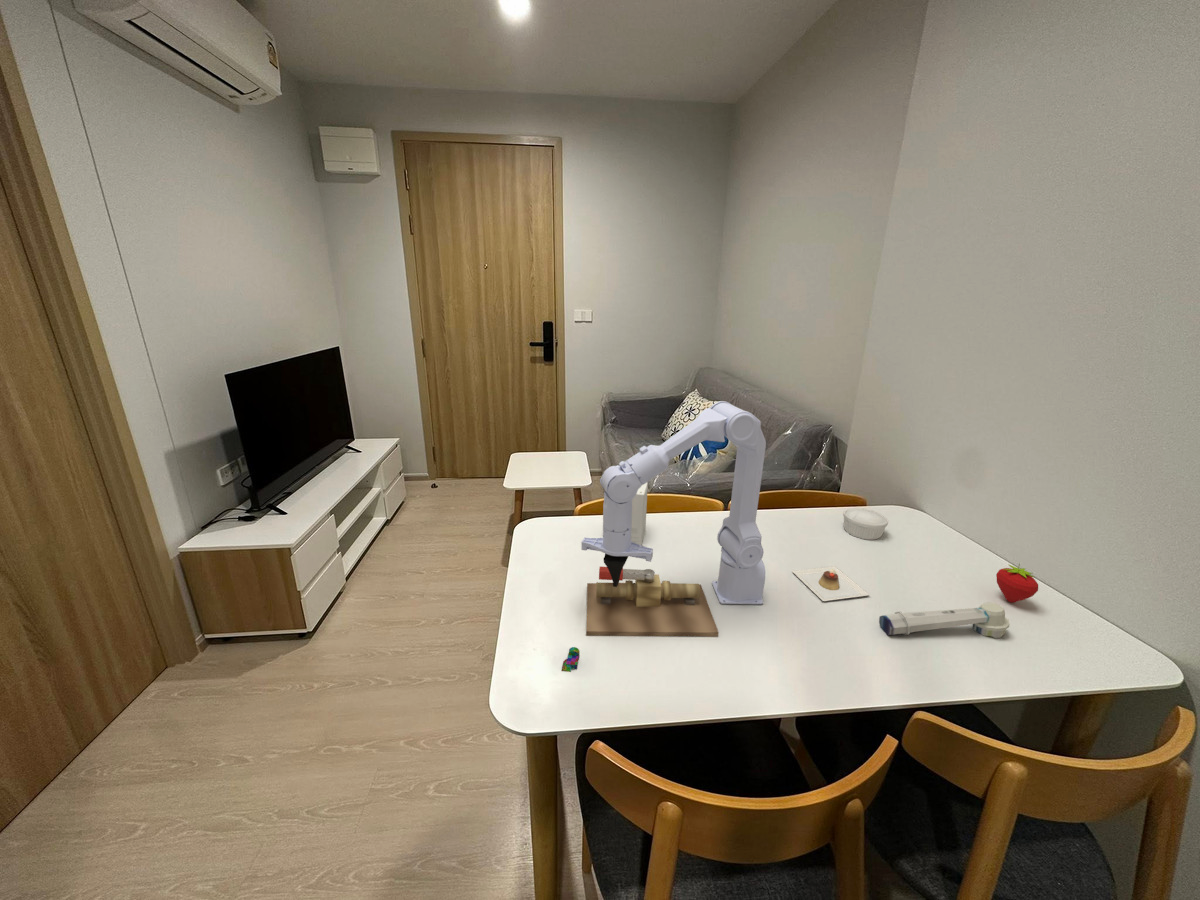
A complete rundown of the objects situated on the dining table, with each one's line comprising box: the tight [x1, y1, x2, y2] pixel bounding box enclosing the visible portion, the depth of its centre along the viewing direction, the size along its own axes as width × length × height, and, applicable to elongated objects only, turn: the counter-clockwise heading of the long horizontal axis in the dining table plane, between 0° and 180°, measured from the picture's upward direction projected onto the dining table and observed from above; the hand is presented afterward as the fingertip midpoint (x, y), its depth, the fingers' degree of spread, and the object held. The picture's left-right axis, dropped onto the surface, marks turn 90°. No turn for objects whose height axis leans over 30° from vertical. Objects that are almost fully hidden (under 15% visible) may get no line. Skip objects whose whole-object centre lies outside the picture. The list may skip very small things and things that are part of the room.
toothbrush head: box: [878, 601, 1011, 639], centre depth 95 cm, size 5×7×25 cm
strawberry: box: [996, 563, 1039, 604], centre depth 104 cm, size 6×8×10 cm
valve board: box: [585, 574, 720, 638], centre depth 99 cm, size 26×16×6 cm, turn 91°
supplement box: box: [631, 481, 649, 546], centre depth 128 cm, size 9×9×15 cm
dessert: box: [791, 565, 870, 602], centre depth 110 cm, size 12×12×5 cm
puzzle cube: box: [561, 646, 580, 673], centre depth 85 cm, size 4×3×2 cm, turn 174°
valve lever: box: [598, 566, 656, 582], centre depth 100 cm, size 12×2×2 cm, turn 87°
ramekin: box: [842, 507, 889, 541], centre depth 135 cm, size 11×11×5 cm
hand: (615, 584), depth 98 cm, fingers closed, pressing on valve lever
